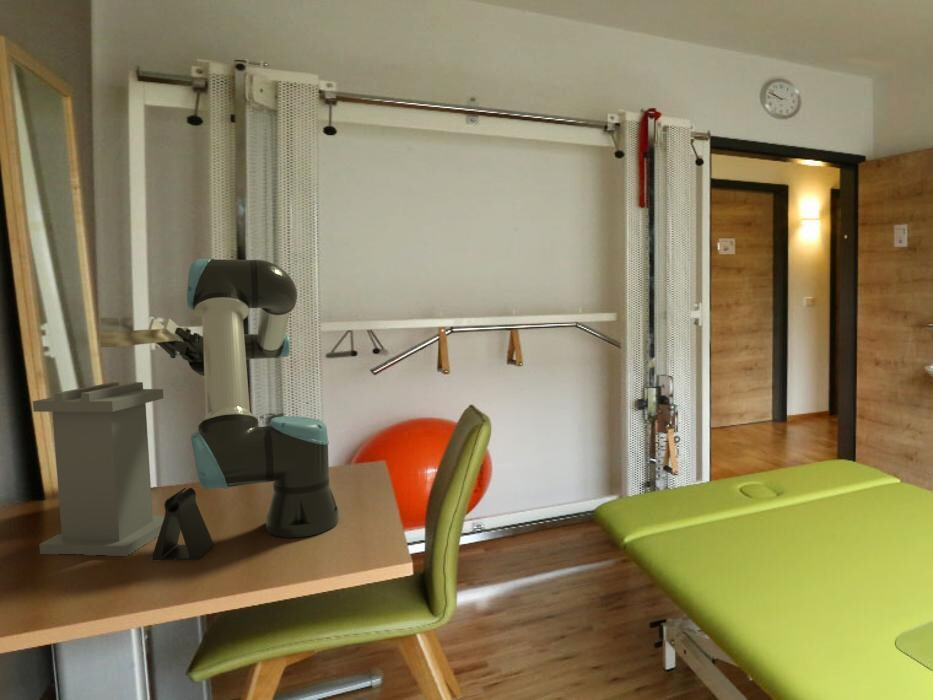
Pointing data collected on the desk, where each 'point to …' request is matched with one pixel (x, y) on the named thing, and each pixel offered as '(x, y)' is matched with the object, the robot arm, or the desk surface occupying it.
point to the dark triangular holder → (182, 529)
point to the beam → (130, 333)
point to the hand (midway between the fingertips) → (159, 323)
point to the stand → (102, 469)
